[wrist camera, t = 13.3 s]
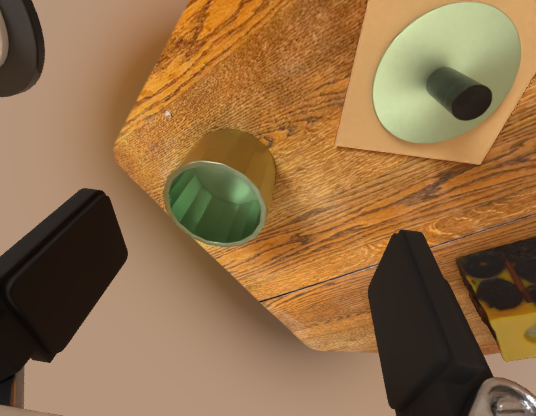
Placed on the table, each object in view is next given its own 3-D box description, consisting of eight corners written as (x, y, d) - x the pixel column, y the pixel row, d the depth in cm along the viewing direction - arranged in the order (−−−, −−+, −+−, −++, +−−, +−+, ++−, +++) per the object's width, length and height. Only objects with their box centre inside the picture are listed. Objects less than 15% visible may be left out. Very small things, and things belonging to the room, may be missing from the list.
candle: (469, 298, 44) (502, 363, 36) (452, 257, 40) (485, 321, 32) (550, 281, 40) (607, 351, 32) (541, 233, 36) (604, 300, 28)
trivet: (334, 143, 33) (334, 145, 32) (376, -39, 23) (378, -40, 23) (477, 162, 32) (480, 164, 31) (586, -22, 22) (592, -23, 21)
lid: (356, 131, 31) (366, 164, 25) (394, -6, 24) (420, -7, 18) (470, 146, 30) (509, 184, 24) (546, 8, 23) (629, 12, 17)
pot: (195, 198, 41) (170, 238, 34) (188, 123, 34) (155, 154, 27) (272, 210, 40) (262, 253, 33) (280, 135, 33) (269, 170, 26)
